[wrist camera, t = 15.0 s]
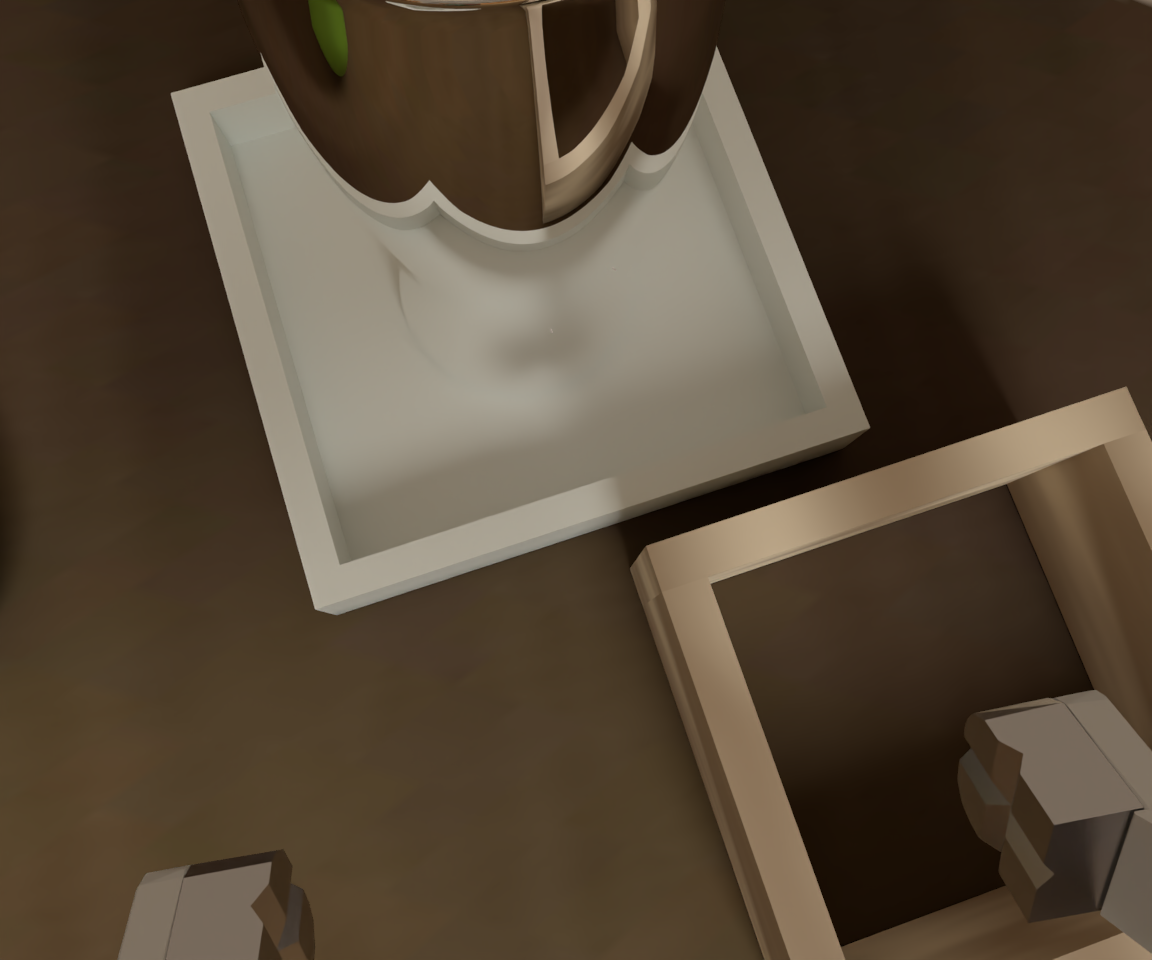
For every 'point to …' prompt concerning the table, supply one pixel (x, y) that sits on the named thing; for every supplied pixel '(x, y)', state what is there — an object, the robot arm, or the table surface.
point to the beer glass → (497, 157)
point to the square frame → (748, 541)
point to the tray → (499, 420)
